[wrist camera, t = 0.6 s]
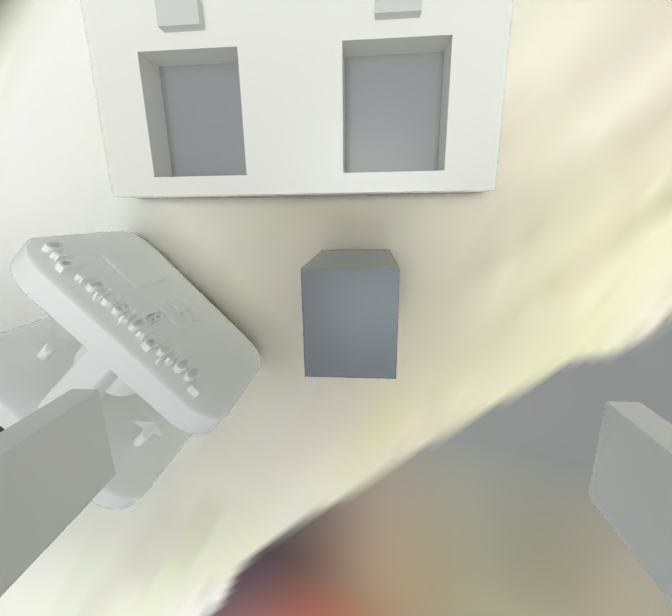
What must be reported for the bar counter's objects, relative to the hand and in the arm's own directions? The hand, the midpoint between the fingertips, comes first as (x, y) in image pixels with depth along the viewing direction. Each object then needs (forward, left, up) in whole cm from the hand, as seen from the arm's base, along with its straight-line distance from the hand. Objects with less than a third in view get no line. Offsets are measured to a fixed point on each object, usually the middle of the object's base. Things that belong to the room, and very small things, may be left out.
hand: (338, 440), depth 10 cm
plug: (0, 0, -20) cm, 20 cm away
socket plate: (-4, +13, -20) cm, 25 cm away
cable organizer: (-16, -4, -21) cm, 27 cm away
